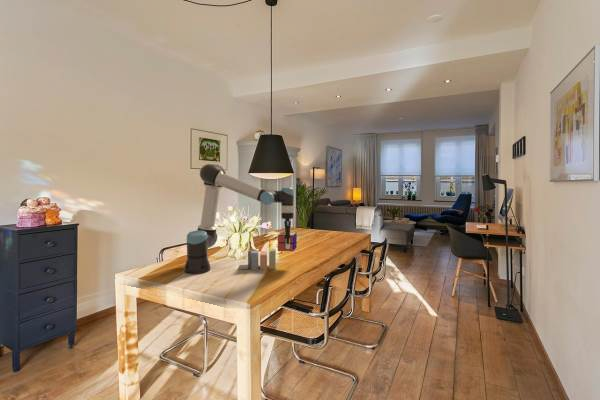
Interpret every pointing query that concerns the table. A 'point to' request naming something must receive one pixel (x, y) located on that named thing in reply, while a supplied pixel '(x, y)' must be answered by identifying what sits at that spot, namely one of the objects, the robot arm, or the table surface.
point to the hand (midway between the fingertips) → (287, 246)
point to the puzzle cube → (282, 241)
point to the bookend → (248, 267)
